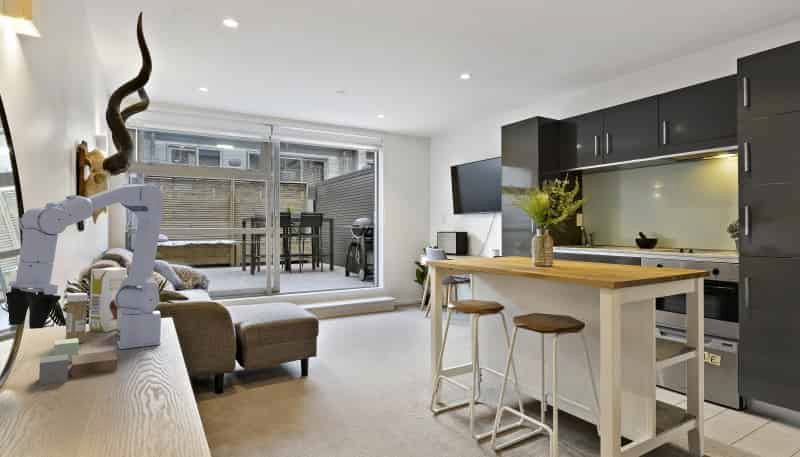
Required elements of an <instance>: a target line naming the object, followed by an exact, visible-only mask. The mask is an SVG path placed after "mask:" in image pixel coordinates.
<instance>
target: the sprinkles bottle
mask: <svg viewBox="0 0 800 457" xmlns="http://www.w3.org/2000/svg"><path fill="white" fill-rule="evenodd" d="M88 298H89V296H88V293H86V292H74V293H73V292H72V293H71V292H70V293H67V295H66V304H67V305H66V315H65V316H66V317H65V318H66V320H65V332H66V333H65V339H75V338H78V341H79V344H82V343H85V342H86V340H87V339H86V330H87V329H86V328H87V301H88Z"/></svg>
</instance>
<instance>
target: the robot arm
mask: <svg viewBox="0 0 800 457" xmlns="http://www.w3.org/2000/svg"><path fill="white" fill-rule="evenodd" d="M65 198H66V199H64V200H60V201H57V202H47V203H45V206H44V207H43V208H42V207H33V208H29V209H27V210H26V211H25V212H24V213H23V214H22V215H21V217H19V218H18V226H19V228H20V229H21V231H22V235H21V237H22V241H21V248H20V249H21V250H20V255H19V261H18V264H17V272H16V278H15V280H10V281H11V282H9V281H8V284H7V285H8V286H11V290H10V291H11V292H10V291H7V292H8V293H6V296H7V304H8V311H7V313H8V312H9V318H8V324H9V326H14V325H15V326H16V325H18V326H19V325H23V324H24V322H25V321H26V317H27V314H28V310H29V314H28V316H29V317H28V326H29V329H31V330H36V329H37V330H38V329H43V328H44V327H45V324H46V322H47V320H48V318H49V315H50V314H51V312H52V310H53V308H54V307H55V306H56V304H57V303H58V302H59V301H60V300H61V298H62V296H61V295H57V294H58V289H59V285H58V284H54V283H51V281H52V274H53V269H54V262H55V256H56V250H57V243H58V237H59V234H62V233H63V232H65V230H66V229H67V227H70V226H72V225H75V224H77V223H80V222H82V221H85V220H88V219H90V218H91V217H93V214H94V211H97V210H100V209H103V208H107V207H110V206H112V205H116V204H118V203H119V204H120V205H121V206H123V207H124V208H125V209H127V210H128V211H129V212H131V213H132V214H134V216H135V217H136V218H137V219H138V223H137V225H138V226H137V231H136V235H135V240H134V248H133V252H132V258H131V263H130V268H129V275H128V276H126V278H125V279H124V280H123V281H122V282H121V284H120V288H119V290H118V291H117V293H116V295H115V304H116V306H117V307H118V308H119V312H121V331H120V335H119V337H120V338H119V340H117V341H116V344H117V347H118V348H119V350H124V349H133V348H141V347H149V346H158V345H161V329H162V326H161V325H162V316H161V312H160V310H155V309H156V308H157V307H158V305H159V303H160V293H159V288H160V285H159V284H158V282H157V280H155V279H154V278H153V273H154V268H155V263H156V262H155V261H156V257H157V249H158V244H159V240H160V239H159V238H160V233H161V229H162V228H161V226H162V222H163V211H162V208H163V202H164V193H163V192H162V190H161V189H160V187H159V186H157V184H154V183H145V184H144V183H141V184H140V183H139V184H138V183H137V184H134V183H133V184H131V183H123V184H121V185H120V184H119V185H115V186H113V187H111V188H108V189H105V190H103V191H100V192H98V193H96V194H93V195H90V196H88V197H85V196H81V195H75V194H69V195H66V196H65ZM8 286H7V287H8ZM138 286H140V287H142V288H136V287H138Z"/></svg>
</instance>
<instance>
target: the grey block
mask: <svg viewBox="0 0 800 457" xmlns="http://www.w3.org/2000/svg"><path fill="white" fill-rule="evenodd" d="M68 369H69V362H68V354H66V355H58V356H54V355H52V356H51V355H50V356H42V357H40V361H39V375H38V376H39V377H38V385H39V386H41V385H42V386H43V385H49V384H54V383H61V382H68V372H69V370H68Z"/></svg>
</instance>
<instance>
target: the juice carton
mask: <svg viewBox="0 0 800 457" xmlns="http://www.w3.org/2000/svg"><path fill="white" fill-rule="evenodd" d="M125 278H127V268H126V267H116V266H115V267H113V266H112V267H105V268H91V273H90V288H89V290H90V291H89V292H90V293H89V315H88V316H89V318H88V331H90V332H99V333H100V332H101V333H108V332H110V331H111V332H112V331H115V330H116V328H117V310H118V307H117V306H116V304H115V295H116V293H117V291H118V290H119V286H120V284H121V282H122V281H123V280H124V279H125Z"/></svg>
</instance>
